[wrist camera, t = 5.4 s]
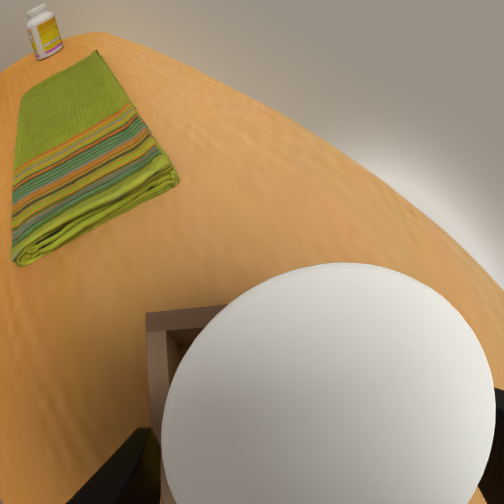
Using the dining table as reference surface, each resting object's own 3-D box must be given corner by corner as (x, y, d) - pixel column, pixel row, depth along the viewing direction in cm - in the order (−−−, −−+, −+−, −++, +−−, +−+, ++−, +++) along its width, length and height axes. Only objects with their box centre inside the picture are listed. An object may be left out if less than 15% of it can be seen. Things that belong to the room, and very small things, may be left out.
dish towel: (23, 278, 20) (0, 258, 17) (22, 103, 35) (15, 88, 32) (185, 189, 24) (178, 159, 21) (104, 61, 39) (100, 46, 37)
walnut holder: (396, 487, 12) (425, 497, 9) (186, 526, 11) (172, 547, 8) (359, 306, 18) (379, 281, 15) (163, 332, 18) (145, 312, 15)
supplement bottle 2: (188, 440, 14) (47, 469, 3) (257, 337, 18) (268, 173, 6) (303, 502, 12) (402, 625, 1) (367, 395, 16) (541, 325, 4)
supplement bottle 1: (68, 43, 48) (56, -2, 36) (54, 56, 44) (39, 7, 33) (46, 51, 48) (33, 8, 36) (32, 64, 44) (16, 18, 33)
